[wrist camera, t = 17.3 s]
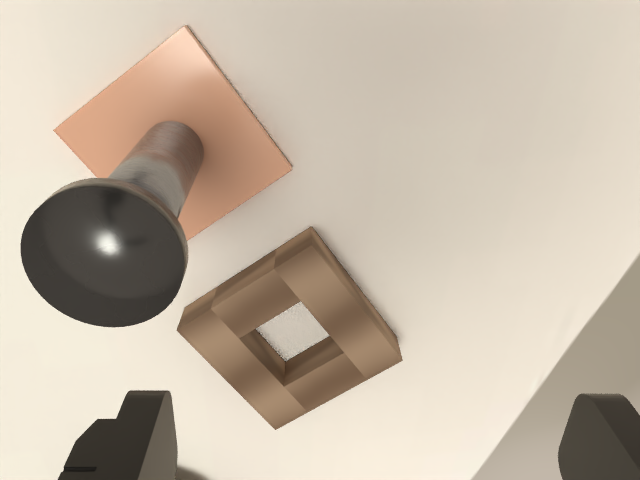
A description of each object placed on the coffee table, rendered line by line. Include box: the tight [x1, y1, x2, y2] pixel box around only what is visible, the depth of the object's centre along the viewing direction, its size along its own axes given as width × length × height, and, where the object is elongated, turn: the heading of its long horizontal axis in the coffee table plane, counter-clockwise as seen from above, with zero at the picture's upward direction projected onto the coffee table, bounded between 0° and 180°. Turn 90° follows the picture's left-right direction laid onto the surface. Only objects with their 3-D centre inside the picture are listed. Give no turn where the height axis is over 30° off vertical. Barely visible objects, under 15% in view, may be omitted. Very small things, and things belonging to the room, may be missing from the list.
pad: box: [53, 25, 292, 241], centre depth 36 cm, size 11×11×1 cm
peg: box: [21, 121, 204, 327], centre depth 29 cm, size 6×6×15 cm
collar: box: [177, 226, 403, 430], centre depth 41 cm, size 12×12×3 cm
